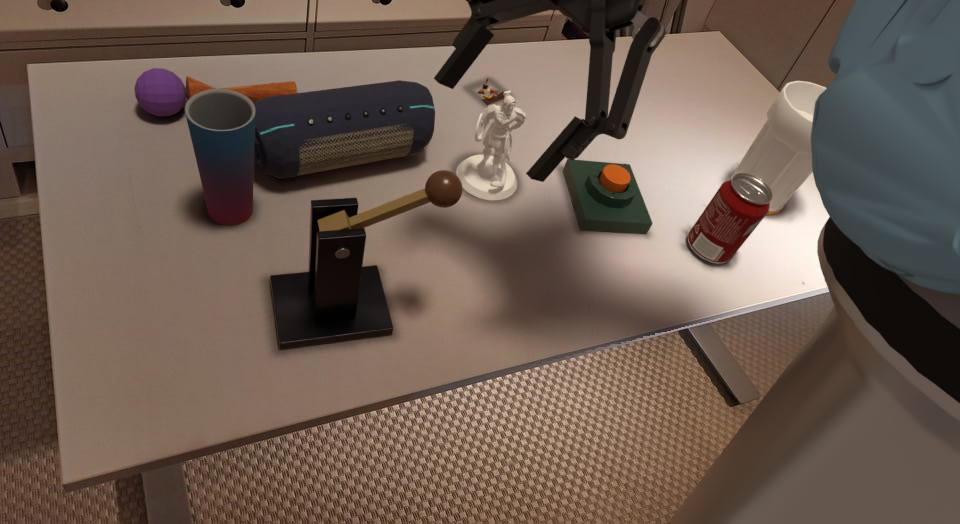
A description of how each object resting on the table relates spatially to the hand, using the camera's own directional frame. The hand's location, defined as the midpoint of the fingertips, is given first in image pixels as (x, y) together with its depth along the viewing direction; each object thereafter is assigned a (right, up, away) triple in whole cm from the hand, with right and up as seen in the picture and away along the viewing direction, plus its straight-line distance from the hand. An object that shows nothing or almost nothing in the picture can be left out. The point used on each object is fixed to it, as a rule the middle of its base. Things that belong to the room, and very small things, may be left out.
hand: (487, 129), depth 61 cm
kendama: (-36, +9, +28) cm, 47 cm away
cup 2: (+43, -2, +42) cm, 60 cm away
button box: (+17, -4, +33) cm, 38 cm away
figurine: (0, -1, +31) cm, 31 cm away
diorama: (+1, +15, +44) cm, 47 cm away
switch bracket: (-17, -17, +11) cm, 27 cm away
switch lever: (-9, -8, +3) cm, 12 cm away
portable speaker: (-19, +2, +27) cm, 34 cm away
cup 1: (-31, -6, +17) cm, 36 cm away
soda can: (+32, -11, +32) cm, 46 cm away
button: (+18, -1, +31) cm, 35 cm away
